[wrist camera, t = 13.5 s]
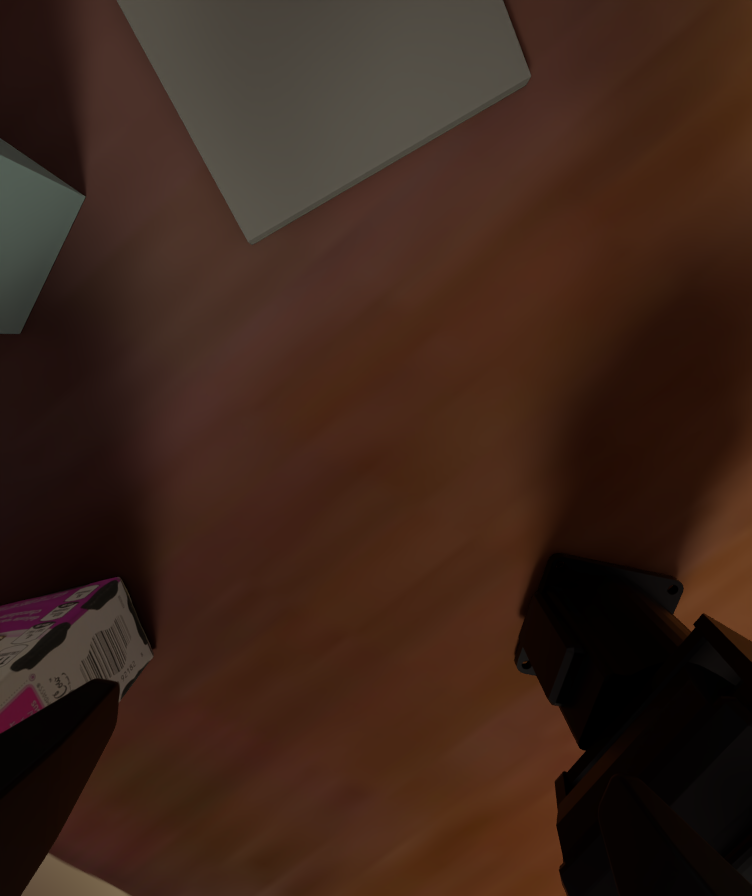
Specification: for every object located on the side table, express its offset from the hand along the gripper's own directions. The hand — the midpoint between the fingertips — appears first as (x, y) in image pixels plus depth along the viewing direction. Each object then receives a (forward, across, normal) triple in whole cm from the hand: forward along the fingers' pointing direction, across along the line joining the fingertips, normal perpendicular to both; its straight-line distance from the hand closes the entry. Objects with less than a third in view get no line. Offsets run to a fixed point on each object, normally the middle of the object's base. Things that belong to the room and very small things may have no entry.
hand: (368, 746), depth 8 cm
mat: (+13, +7, -19) cm, 24 cm away
